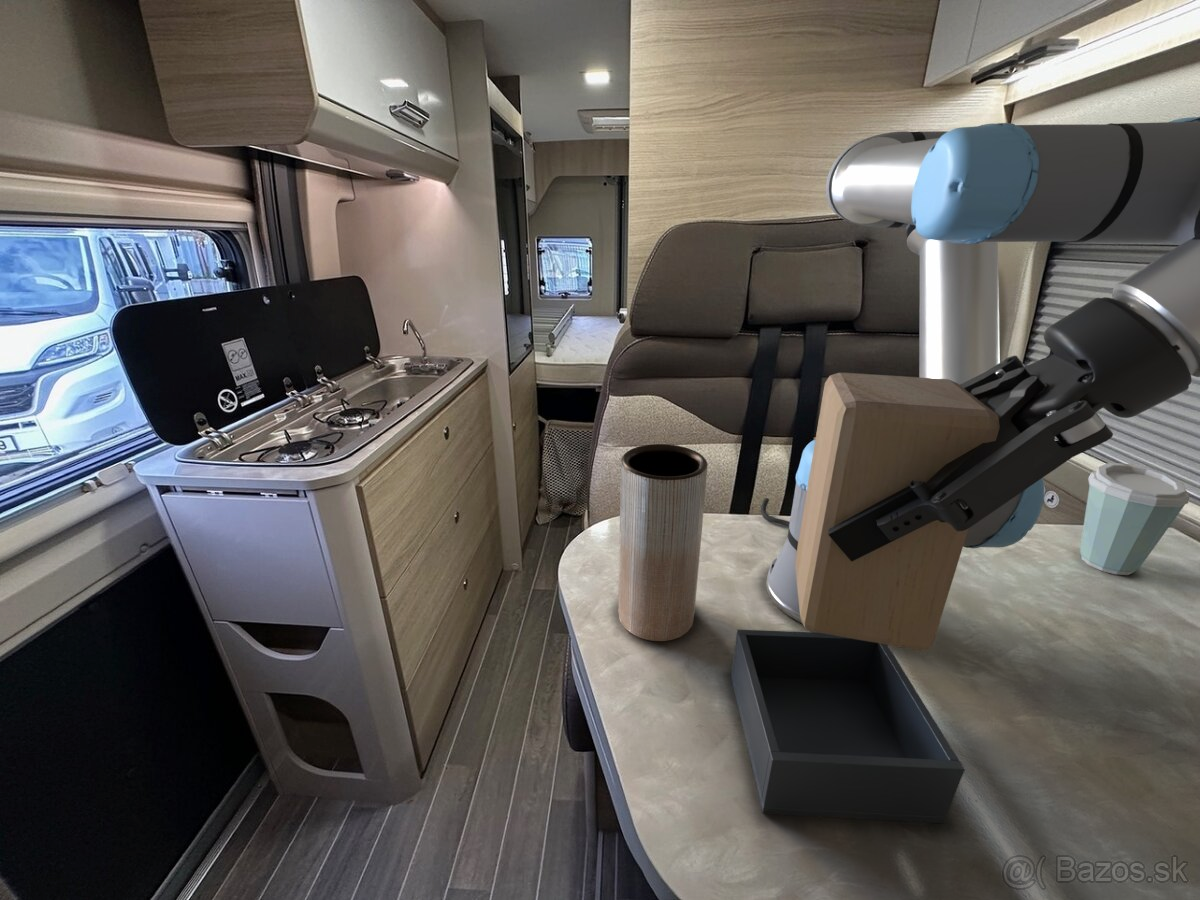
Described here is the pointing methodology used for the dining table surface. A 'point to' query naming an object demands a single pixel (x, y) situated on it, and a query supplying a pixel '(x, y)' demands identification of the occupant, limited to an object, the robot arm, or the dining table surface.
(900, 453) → the wooden block
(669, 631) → the planter
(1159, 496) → the disposable coffee cup
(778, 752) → the tote
